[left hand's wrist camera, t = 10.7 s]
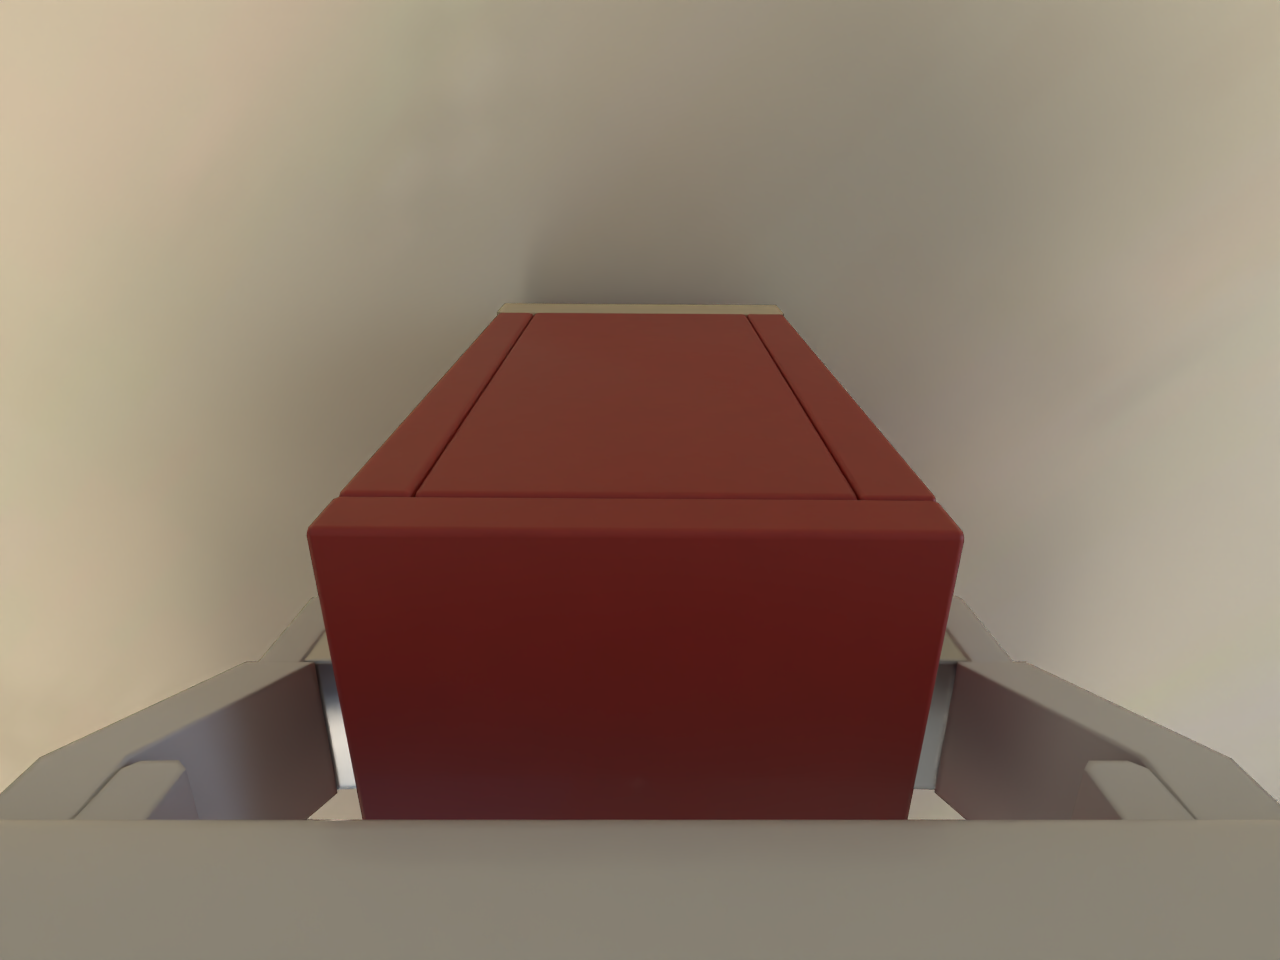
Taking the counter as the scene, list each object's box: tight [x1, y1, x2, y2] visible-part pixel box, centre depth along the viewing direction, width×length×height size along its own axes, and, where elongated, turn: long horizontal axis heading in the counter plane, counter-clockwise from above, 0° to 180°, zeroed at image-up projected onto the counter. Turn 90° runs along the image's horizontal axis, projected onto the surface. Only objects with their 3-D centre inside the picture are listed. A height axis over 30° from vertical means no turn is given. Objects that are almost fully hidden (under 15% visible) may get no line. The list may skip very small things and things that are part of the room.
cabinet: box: [307, 303, 964, 820], centre depth 15 cm, size 19×6×10 cm, turn 0°
